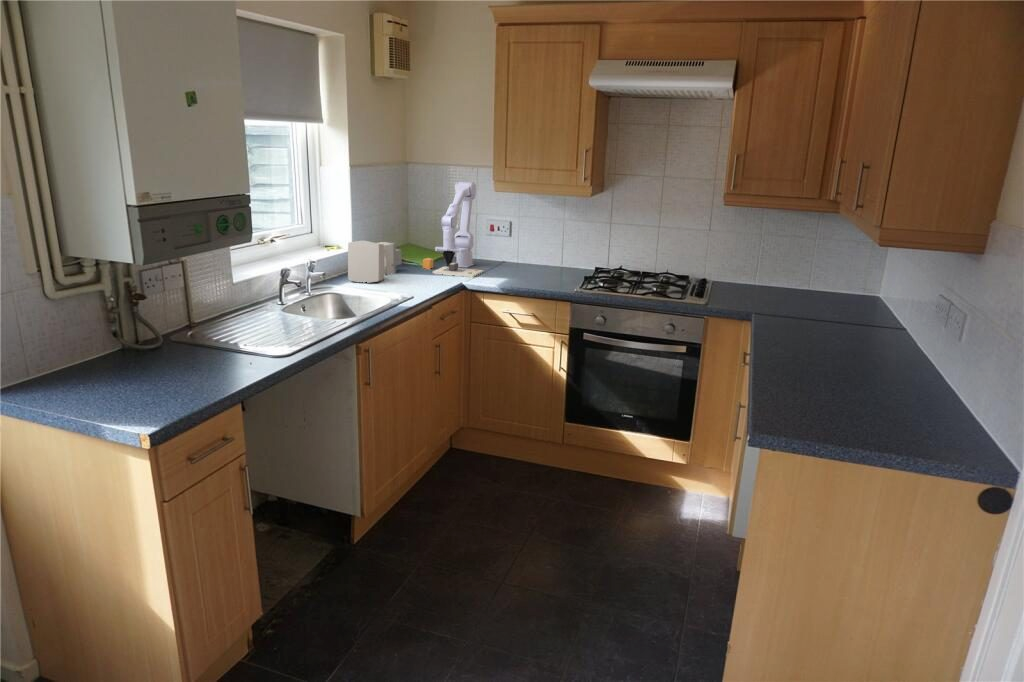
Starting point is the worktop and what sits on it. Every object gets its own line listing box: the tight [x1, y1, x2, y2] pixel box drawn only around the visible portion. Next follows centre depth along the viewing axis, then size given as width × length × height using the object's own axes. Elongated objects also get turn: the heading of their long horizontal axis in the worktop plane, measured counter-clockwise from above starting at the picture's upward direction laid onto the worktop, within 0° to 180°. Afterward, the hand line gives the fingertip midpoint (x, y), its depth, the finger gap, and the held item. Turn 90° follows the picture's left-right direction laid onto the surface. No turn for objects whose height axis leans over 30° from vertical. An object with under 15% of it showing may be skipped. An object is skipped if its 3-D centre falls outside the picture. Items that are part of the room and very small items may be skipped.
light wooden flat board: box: [432, 266, 484, 278], centre depth 347 cm, size 14×22×2 cm, turn 70°
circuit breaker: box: [379, 241, 403, 276], centre depth 342 cm, size 8×14×15 cm, turn 148°
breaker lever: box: [448, 261, 459, 271], centre depth 347 cm, size 5×3×3 cm, turn 161°
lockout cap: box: [422, 257, 434, 270], centre depth 356 cm, size 4×4×5 cm
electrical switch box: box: [347, 239, 385, 284], centre depth 325 cm, size 15×15×20 cm
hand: (448, 265), depth 348 cm, fingers closed
